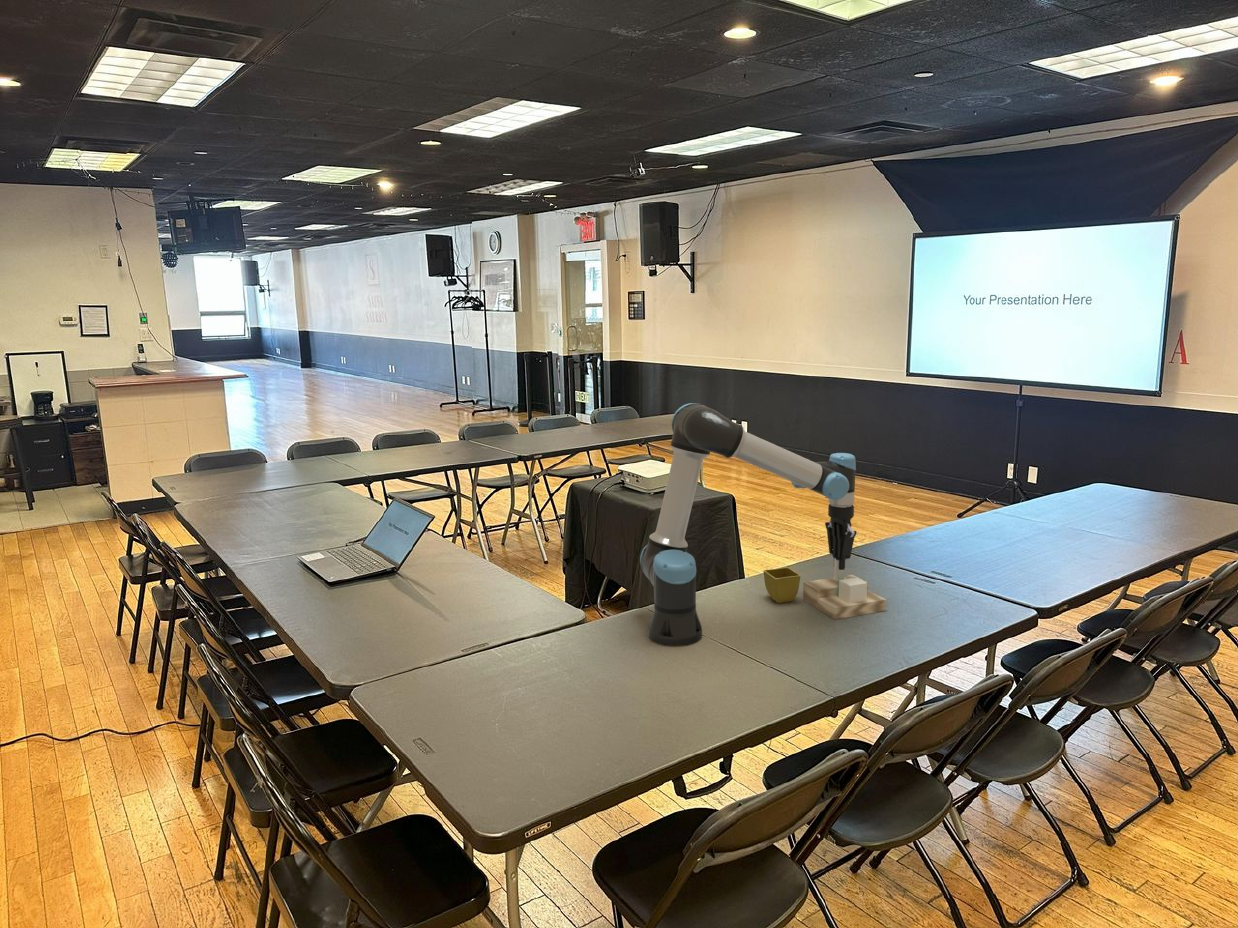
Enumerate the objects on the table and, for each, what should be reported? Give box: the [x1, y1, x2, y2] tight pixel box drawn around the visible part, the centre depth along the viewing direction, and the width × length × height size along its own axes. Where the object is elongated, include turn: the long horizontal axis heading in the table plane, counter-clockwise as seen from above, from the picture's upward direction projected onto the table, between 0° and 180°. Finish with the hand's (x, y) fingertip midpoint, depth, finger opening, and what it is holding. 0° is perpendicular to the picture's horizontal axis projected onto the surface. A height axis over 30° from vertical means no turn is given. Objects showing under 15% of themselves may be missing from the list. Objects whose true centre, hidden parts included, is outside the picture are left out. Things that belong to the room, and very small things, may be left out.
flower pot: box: [762, 566, 801, 604], centre depth 250 cm, size 9×9×9 cm
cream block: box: [838, 576, 867, 603], centre depth 240 cm, size 6×6×6 cm
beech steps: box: [802, 574, 887, 620], centre depth 244 cm, size 18×17×6 cm
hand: (838, 578), depth 246 cm, fingers closed
